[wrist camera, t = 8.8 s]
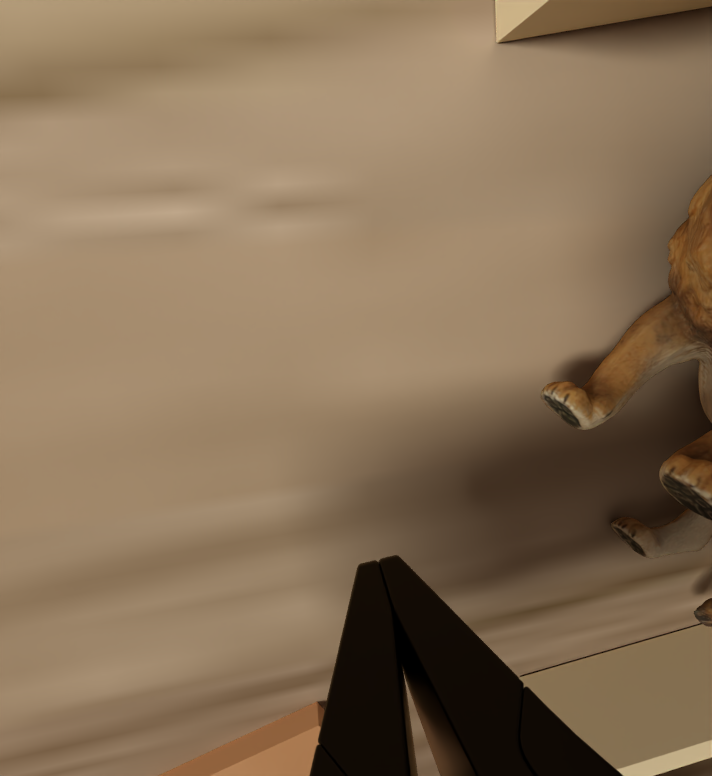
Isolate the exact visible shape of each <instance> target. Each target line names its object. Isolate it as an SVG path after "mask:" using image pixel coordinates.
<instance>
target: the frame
mask: <svg viewBox="0 0 712 776" xmlns="http://www.w3.org/2000/svg"><path fill="white" fill-rule="evenodd" d="M711 6H712V0H495V10H496V38H497V43H499V42H505V41H511V40H517V39H523V38H528V37H534V36H540V35H546V34H552V33H558V32H564V31H570V30H576V29H581V28H587V27H593V26H599V25H605V24H611V23H617V22H623V21H629V20H634V19H640V18H646V17H652V16H658V15H664V14H670V13H676V12H682V11H687V10H693V9H699V8H705V7H711ZM520 680H521V681H522V682H523V683H524V687H526V686H527V687H529V688H530V689H531V690H532V691H533V692H534V693H535V694H536V696H537V697H538V698H539V699H540V700H541V701H542V702H543V703H544V704H545V705H546V706H547V707H548V708H549V709H550V710H551V711H553V712H554V713H555V714H556V715H557V716H558V717H559V718H560V719H561V720H562V721H563V722H564V723H565V724H566V725H567V726H568V727H569V728H570V729H571V730H572V731H573V732H574V733H575V734H576V735H578V736H579V737H580V738H581V739H582V740H583V741H584V742H585V743H587V744H588V745H589V746H590V747H591V748H592V749H593V750H595V751H596V752H597V753H598V754H599V755H600V756H601V757H603V758H604V759H605V760H606V761H607V762H608V763H609V764H611V765H612V766H613V767H614V768H615V769H616V770H618V771H619V772H620V773H621V774H622V775H623V776H654V775H658V774H661V773H664V772H667V771H670V770H673V769H677V768H680V767H683V766H686V765H689V764H692V763H695V762H699V761H702V760H705V759H708V758H711V757H712V627H707V626H705V625H704V624H701V625H698V626H694V627H691V628H687V629H684V630H681V631H677V632H674V633H670V634H667V635H663V636H660V637H656V638H653V639H650V640H646V641H643V642H639V643H636V644H632V645H629V646H625V647H622V648H619V649H615V650H612V651H608V652H605V653H601V654H598V655H594V656H591V657H588V658H584V659H581V660H577V661H574V662H570V663H567V664H563V665H560V666H557V667H553V668H550V669H546V670H543V671H539V672H536V673H533V674H529V675H526V676H522V677H520Z"/></svg>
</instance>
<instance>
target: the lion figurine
mask: <svg viewBox="0 0 712 776" xmlns="http://www.w3.org/2000/svg"><path fill="white" fill-rule="evenodd" d="M688 214H689V218H688V219H687V220H686V221H685V222H684V223H683V224H682V225H681V226H680V227H679V228H678V229H677V231H676V233H675V234H674V236H673V237H672V238H671V240H670V241H669V243H668V248H669V250H670V253H669V257H668V261H669V263H670V264H671V267H672V268H671V270H670V273H669V278H668V283H669V288H670V289H671V291H672V293H671V295H669V296H668V297H667V298H666V299H665V300H664V301H662V302H660V303H659V304H657V305H656V306H654V307H653V308H651V309H650V310H648V311H647V312H645V313H644V314H643V315H642V316H641V317H640V318H639V319H638V320H636V321H635V323H634V324H633V325H632V326H631V327H630V328H629V329H628V330H627V332H626V333H625V334H624V336H623V337H622V338H621V340H620V341H619V342H618V344H617V345H616V347H615V348H614V349H613V351H612V352H611V353H610V354H609V355H608V356H607V357H606V358H605V359H604V360H603V361H602V363H601V364H600V365H599V367H598V368H597V369H596V371H595V372H594V374H593V375H592V377H591V378H590V380H589V381H588V382H587V383H586V385H585V386H583V387H582V388H578V387H577V386H576V385H575V384H574V383H572V382H569V381H564V382H553V383H550V384H547V385H546V386H545V387H544V389H543V390H542V393H541V399H542V400H543V402H544V403H545V405H546V406H547V407H548V408H549V409H551V410H552V411H553V412H554V413H556V414H557V415H558V416H559V417H561V418H562V419H563V420H564V421H565V422H567V423H568V424H569V425H571V426H572V427H574V428H576V429H583V430H587V429H591V428H594V427H596V426H598V425H600V424H602V423H604V422H605V421H606V420H608V419H609V418H611V417H613V416H614V415H616V414H617V413H618V412H619V411H620V410H621V409H622V408H623V406H624V405H625V404H626V403H627V402H628V400H629V399H630V398H631V397H632V396H633V394H634V393H635V392H636V391H637V390H638V389H639V388H640V387H641V386H642V385H643V384H644V383H645V382H647V381H648V380H649V379H650V378H652V377H653V376H654V375H656V374H657V373H659V372H660V371H662V370H664V369H665V368H667V367H669V366H671V365H673V364H678V363H683V362H686V361H689V360H692V359H697V360H698V361H699V362H700V363H699V380H698V382H699V395H700V401H701V404H702V407H703V410H704V412H705V414H706V416H707V417H708V419H709V420H710V422H711V423H712V175H711V176H710V177H709V178H708V179H707V180H706V182H705V183H704V184H703V185H702V186H701V187H700V188H699V190H698V191H697V193H696V194H695V195H694V197H693V199H692V200H691V203H690V206H689V209H688ZM659 478H660V480H661V483H662V485H663V487H664V488H665V489H666V491H667V492H668V493H669V494H670V495H672V496H673V497H674V498H675V499H676V500H677V501H678V502H679V503H681V504H682V505H684V506H685V507H687V509H686V510H685V511H684V512H683V513H682V514H681V515H680V516H679V517H677V518H676V519H675V520H673V521H672V522H670V523H668V524H666V525H663V526H660V527H654V528H648V527H646V526H645V525H643V524H642V523H641V522H639V521H638V520H636V519H634V518H630V517H622V518H619V519H617V520H616V521H614V522H613V523H612V524H611V527H612V528H613V530H614V531H615V532H616V534H617V535H618V536H619V537H620V538H621V539H622V540H623V541H624V542H625V543H626V544H627V545H629V546H630V547H631V548H632V549H633V550H634V551H636V552H637V553H639V554H640V555H642V556H644V557H648V558H658V557H661V556H664V555H670V554H676V553H681V552H689V551H699V550H701V549H702V548H703V547H704V546H705V545H706V544H707V543H708V541H709V540H710V539H711V537H712V430H711V431H709V432H708V433H706V434H705V435H703V436H702V437H700V438H698V439H697V440H695V441H694V442H692V443H690V444H688V445H687V446H685V447H683V448H681V449H679V450H678V451H676V452H675V453H674V454H673V455H672V456H670V457H669V459H668V460H666V461H665V462H663V464H662V466H661V468H660V470H659ZM694 614H695V617H696V618H697V619H698V620H699V621H700V622H701V623H702V624H704V625H705V626H707V627H712V598H710V599H708V600H706V601H705V602H704V603H703V604H702V605H701V606H699V607H698V608H697V609H696V611H694Z"/></svg>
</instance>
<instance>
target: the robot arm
mask: <svg viewBox="0 0 712 776" xmlns="http://www.w3.org/2000/svg"><path fill="white" fill-rule="evenodd" d="M403 671H404V673H403ZM404 675H405V678H406V681H407V684H408V687H409V690H410V693H411V696H412V699H413V701H414V704H415V707H416V710H417V712H418V715H419V718H420V721H421V723H422V726H423V729H424V732H425V734H426V737H427V740H428V743H429V745H430V748H431V751H432V754H433V756H434V759H435V762H436V764H437V767H438V770H439V773H440V775H441V776H623V775H622V774H621V773H620V772H619V771H618V770H616V769H615V768H614V767H613V766H612V765H611V764H609V763H608V762H607V761H606V760H605V759H604V758H603V757H601V756H600V755H599V754H598V753H597V752H596V751H595V750H593V749H592V748H591V747H590V746H589V745H588V744H587V743H585V742H584V741H583V740H582V739H581V738H580V737H579V736H578V735H576V734H575V733H574V732H573V731H572V730H571V729H570V728H569V727H568V726H567V725H566V724H565V723H564V722H563V721H562V720H561V719H560V718H559V717H558V716H557V715H556V714H555V713H554V712H553V711H551V710H550V709H549V708H548V707H547V706H546V705H545V704H544V703H543V702H542V701H541V700H540V699H539V698H538V697H537V696H536V694H535V693H534V692H533V691H532V690H531V689H530V688H529V687H527V686H526V687H524V683H523V682H522V681H521V680H520V679H519V678H518V676H517V675H516V674H515V673H514V672H513V671H512V670H511V669H510V668H509V667H508V666H507V665H506V664H505V663H504V662H503V661H502V660H501V659H500V658H499V657H498V656H497V655H496V654H495V653H494V652H493V651H492V650H491V649H490V648H489V647H488V646H487V645H486V644H485V643H484V642H483V641H482V640H481V639H480V638H479V637H478V636H477V635H476V634H475V633H474V632H473V631H472V630H471V629H470V628H469V627H468V626H467V625H466V624H465V623H464V622H463V621H462V620H461V619H460V618H459V617H458V616H457V614H456V613H455V612H454V611H453V610H452V609H451V608H450V607H449V606H448V605H447V604H446V603H445V602H444V601H443V600H442V599H441V598H440V597H439V596H438V595H437V594H436V593H435V592H434V591H433V590H432V589H431V588H430V587H429V586H428V585H427V584H426V583H425V582H424V581H423V580H422V579H421V578H420V577H419V576H418V575H417V574H416V573H415V572H414V571H413V570H412V569H411V568H410V567H409V566H408V565H407V564H406V563H405V562H404V561H403V560H402V559H401V558H400V557H399V556H397V555H394V556H390V557H386V558H382V559H380V560H379V563H378V562H377V561H376V560H374V561H370V562H366V563H362V564H359V566H358V568H357V571H356V576H355V580H354V584H353V589H352V593H351V597H350V602H349V606H348V611H347V615H346V619H345V624H344V628H343V632H342V637H341V641H340V645H339V650H338V654H337V658H336V663H335V667H334V672H333V676H332V680H331V685H330V689H329V693H328V698H327V702H326V706H325V711H324V715H323V719H322V724H321V728H320V733H319V737H318V743H319V745H317V746H316V749H315V753H314V758H313V762H312V766H311V771H310V775H309V776H418V773H417V765H416V758H415V751H414V743H413V736H412V728H411V721H410V713H409V706H408V699H407V691H406V685H405V679H404Z"/></svg>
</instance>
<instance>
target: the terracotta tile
mask: <svg viewBox="0 0 712 776" xmlns="http://www.w3.org/2000/svg"><path fill="white" fill-rule="evenodd" d="M324 711H325V710H324V709H323V708H322V707H321V706H320V704H319V703H318V702H315V703H313V704H311V705H309V706H307V707H305V708H302V709H300V710H298V711H296V712H294V713H292V714H290V715H287V716H285V717H283V718H281V719H279V720H277V721H275V722H272V723H270V724H268V725H266V726H264V727H262V728H260V729H257V730H255V731H253V732H251V733H249V734H247V735H244V736H242V737H240V738H238V739H236V740H234V741H232V742H229V743H227V744H225V745H223V746H221V747H219V748H217V749H214V750H212V751H210V752H208V753H206V754H204V755H202V756H199V757H197V758H195V759H193V760H191V761H189V762H187V763H184V764H182V765H180V766H178V767H176V768H174V769H172V770H169V771H167V772H165V773H163V774H161V775H159V776H309V775H310V771H311V766H312V762H313V758H314V753H315V749H316V746H317V745H319V743H318V737H319V733H320V728H321V724H322V719H323V715H324Z"/></svg>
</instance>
